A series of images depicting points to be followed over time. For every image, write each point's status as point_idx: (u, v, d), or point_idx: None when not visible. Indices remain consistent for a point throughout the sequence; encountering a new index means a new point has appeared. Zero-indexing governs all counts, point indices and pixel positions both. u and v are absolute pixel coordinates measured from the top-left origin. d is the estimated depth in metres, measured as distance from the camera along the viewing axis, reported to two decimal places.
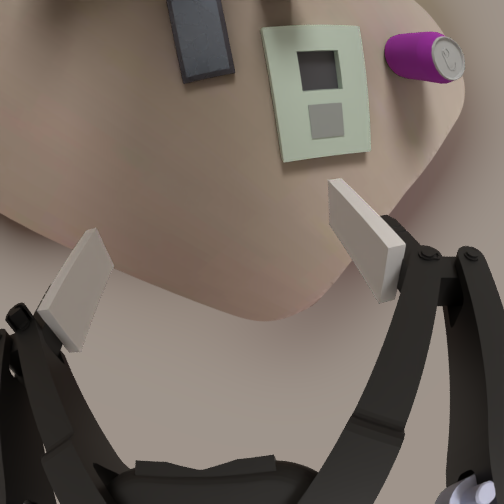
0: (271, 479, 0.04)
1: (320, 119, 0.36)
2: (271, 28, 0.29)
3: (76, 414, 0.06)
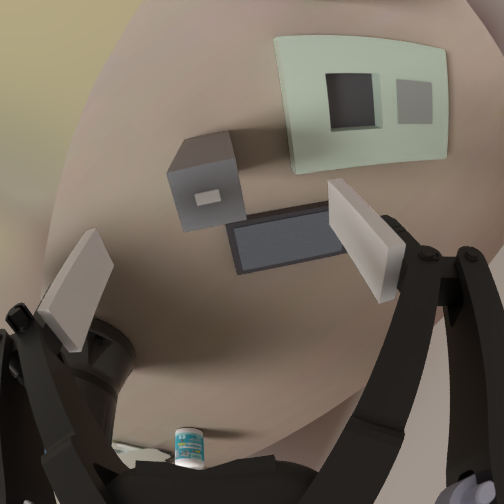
0: (271, 479, 0.04)
1: (414, 110, 0.24)
2: (297, 163, 0.27)
3: (76, 414, 0.06)
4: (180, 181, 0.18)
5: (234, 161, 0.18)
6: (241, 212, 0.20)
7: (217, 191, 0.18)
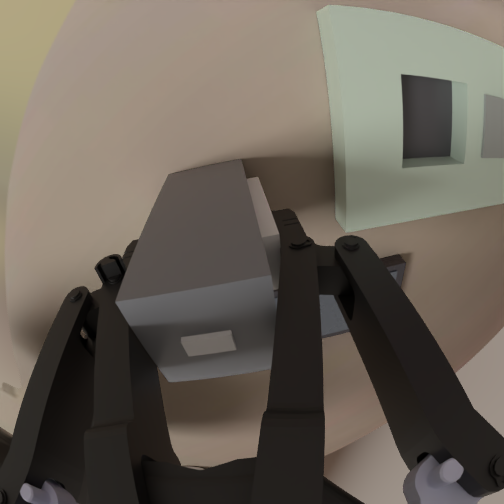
0: None
1: (499, 140, 0.14)
2: (349, 215, 0.17)
3: (143, 391, 0.07)
4: (147, 317, 0.08)
5: (268, 282, 0.08)
6: None
7: (229, 336, 0.08)
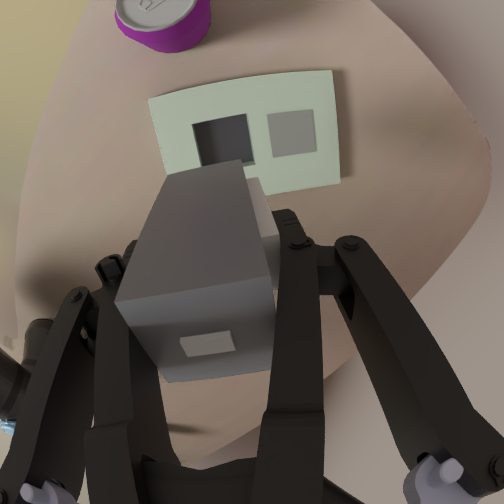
0: None
1: (291, 142, 0.30)
2: None
3: (143, 391, 0.07)
4: (146, 317, 0.08)
5: (267, 282, 0.08)
6: None
7: (228, 337, 0.08)
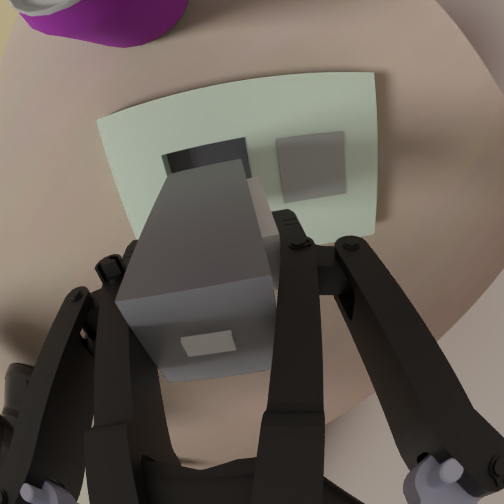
0: None
1: (311, 180, 0.21)
2: None
3: (143, 392, 0.07)
4: (147, 317, 0.08)
5: (269, 282, 0.08)
6: None
7: (229, 337, 0.08)
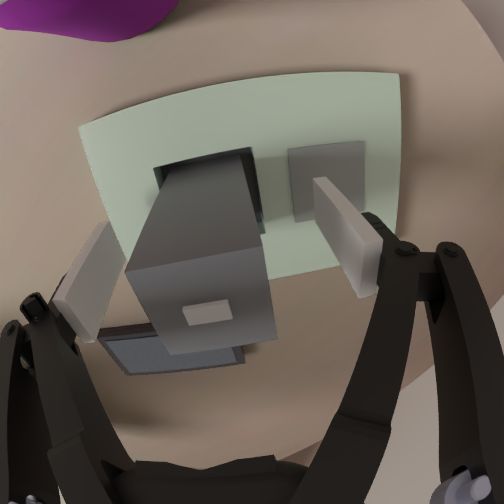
0: (271, 479, 0.04)
1: None
2: None
3: (87, 408, 0.06)
4: (153, 286, 0.09)
5: (260, 252, 0.09)
6: (268, 330, 0.11)
7: (226, 305, 0.10)
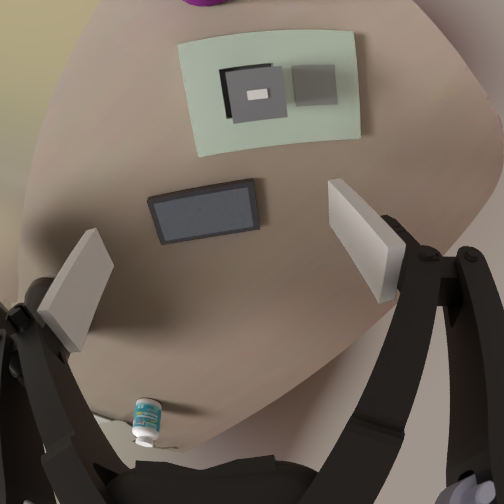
0: (271, 479, 0.04)
1: (314, 93, 0.28)
2: (198, 147, 0.31)
3: (76, 414, 0.06)
4: (236, 79, 0.20)
5: (281, 68, 0.19)
6: (283, 110, 0.21)
7: (266, 89, 0.20)
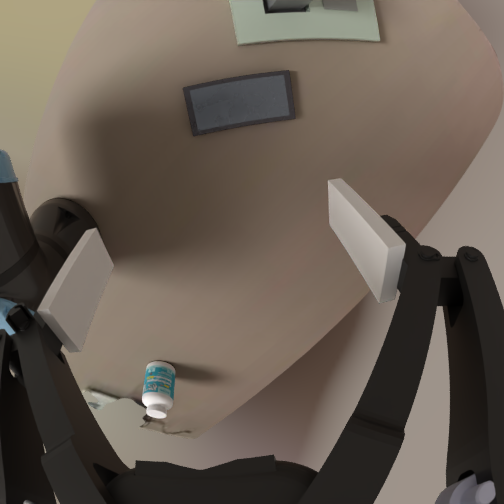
0: (271, 479, 0.04)
1: (338, 0, 0.25)
2: (239, 35, 0.28)
3: (76, 414, 0.06)
4: None
5: None
6: None
7: None
